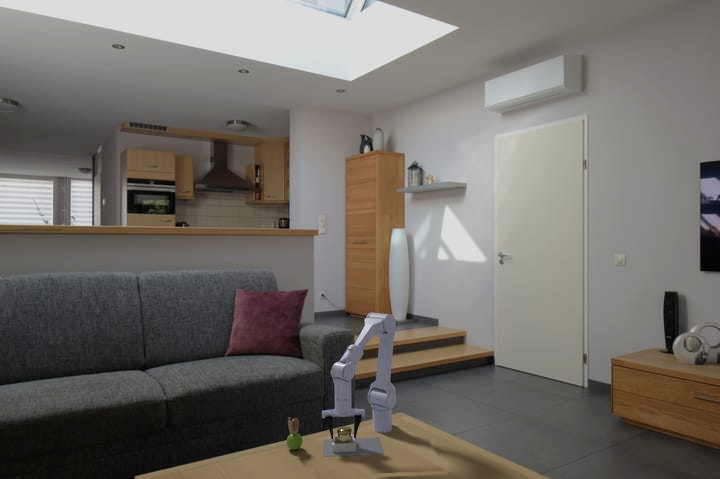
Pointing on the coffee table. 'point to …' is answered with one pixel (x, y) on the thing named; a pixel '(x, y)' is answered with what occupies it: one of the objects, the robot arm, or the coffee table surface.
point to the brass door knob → (344, 435)
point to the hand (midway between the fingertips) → (343, 437)
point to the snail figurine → (294, 435)
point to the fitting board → (352, 447)
